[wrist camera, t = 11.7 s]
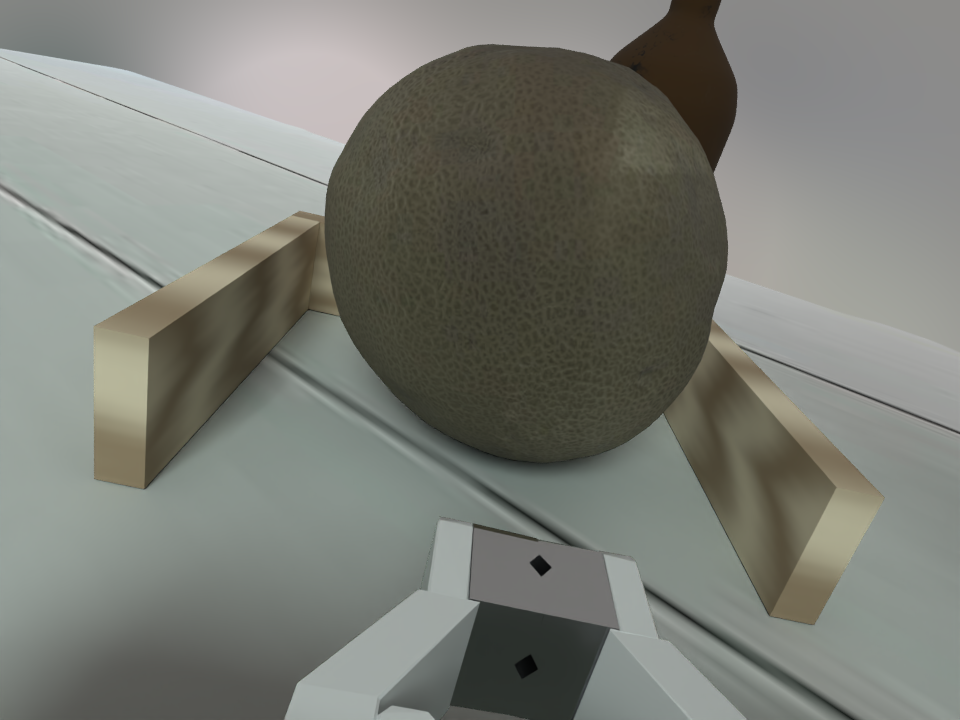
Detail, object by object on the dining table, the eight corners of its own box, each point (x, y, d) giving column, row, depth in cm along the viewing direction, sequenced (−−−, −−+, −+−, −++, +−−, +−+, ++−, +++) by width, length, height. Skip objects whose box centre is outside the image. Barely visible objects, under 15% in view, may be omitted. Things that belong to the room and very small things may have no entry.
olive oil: (663, 331, 48) (798, -46, 39) (530, 290, 50) (628, -77, 41) (667, 300, 58) (776, -8, 49) (555, 267, 60) (639, -35, 51)
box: (814, 624, 21) (884, 497, 19) (94, 478, 19) (93, 326, 17) (667, 379, 39) (696, 302, 37) (289, 295, 37) (299, 210, 36)
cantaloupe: (507, 359, 36) (582, 74, 30) (713, 509, 26) (882, 125, 20) (253, 376, 28) (293, -15, 22) (415, 608, 18) (563, -1, 12)
